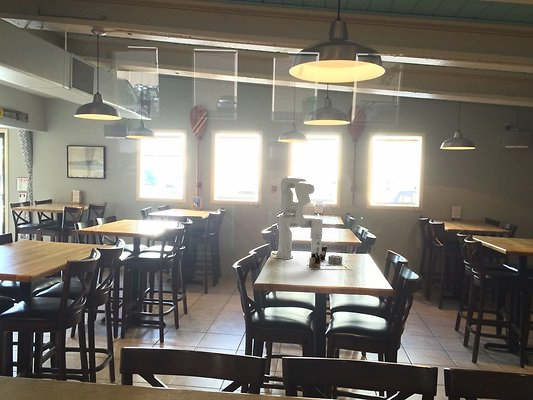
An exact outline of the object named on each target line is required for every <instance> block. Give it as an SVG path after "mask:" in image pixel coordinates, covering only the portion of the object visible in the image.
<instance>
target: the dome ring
mask: <svg viewBox="0 0 533 400" xmlns="http://www.w3.org/2000/svg"><path fill="white" fill-rule="evenodd" d="M333 255H334V254H330V255H328V260H327V264H328V265H343V256H341V255H337V256H338V257H332V256H333Z"/></svg>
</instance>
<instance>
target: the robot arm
mask: <svg viewBox="0 0 533 400" xmlns="http://www.w3.org/2000/svg"><path fill="white" fill-rule="evenodd" d="M293 189H294V191H295V194H296V195H295V196H296V199H294V192H293ZM280 191H281V195H280V196H281V198H280V200H281V201H280V211H281V212H282V213H285V214H282V215H280V216H279V217H278V220H277V222H278V247H277V248H278V249H277V251H275V252H274V251H271V255H272V256H273V255H274V256H275V258H277V259H280V260H291V259H293V258H294V256H293V255H292V246H293V245H292V244H293V243H292V241H293V232H292V230H291V229H290V228H299V227H300V228H302V229H304V228H305V229H306V228H307V229H309V228H310V239H311V242H310V252H311V253H310V258H315V264H320V254H322V245H323V244H322V240H323V222H324V220H323V219H322V218H321V217H316V216H304V214H303V209H304V208H305V207H307V206H309V205H310V204H311V197H310V195H312V194H314V192H315V186H314V184H313V183H312V181H310V180H309V179H307V178H305V177H304V176H285V177H283V178H282V179H281V181H280ZM291 213H292V214H291Z"/></svg>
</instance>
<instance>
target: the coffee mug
mask: <svg viewBox="0 0 533 400" xmlns="http://www.w3.org/2000/svg"><path fill="white" fill-rule="evenodd" d="M327 249H328V245H323V244H322V254H320V259H321V262H322V261H326V255H327Z"/></svg>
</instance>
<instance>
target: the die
mask: <svg viewBox="0 0 533 400" xmlns="http://www.w3.org/2000/svg"><path fill="white" fill-rule="evenodd" d="M308 260H309V263H308V267H309V268H310V269H321V266H322V264H321V263H322V261H321V259H320V264H315V258H311V257H309V259H308Z"/></svg>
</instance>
